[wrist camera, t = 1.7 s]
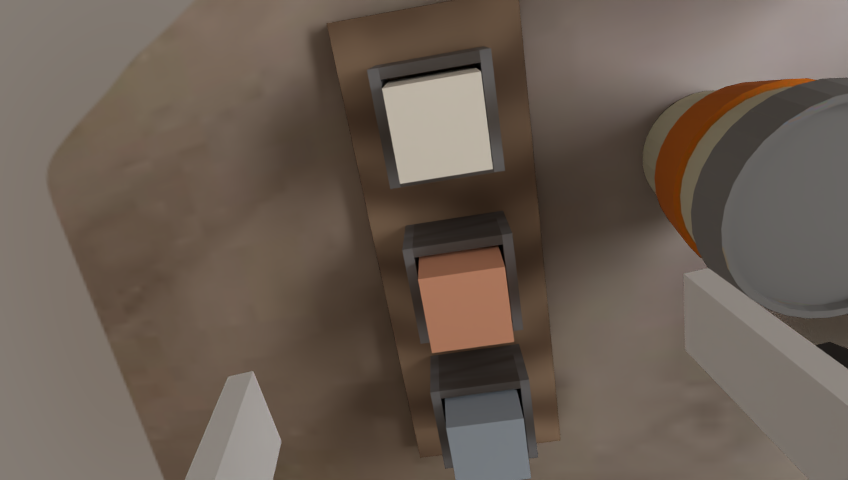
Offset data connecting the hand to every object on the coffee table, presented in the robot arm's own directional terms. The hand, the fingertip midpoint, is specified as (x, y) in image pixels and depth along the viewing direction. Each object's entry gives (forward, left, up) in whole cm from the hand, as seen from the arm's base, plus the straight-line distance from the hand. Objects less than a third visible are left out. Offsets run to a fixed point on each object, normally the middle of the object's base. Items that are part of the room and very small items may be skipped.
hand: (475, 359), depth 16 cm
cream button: (+2, -3, -22) cm, 23 cm away
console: (-4, +7, -27) cm, 28 cm away
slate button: (-10, +17, -22) cm, 30 cm away
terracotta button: (-4, +7, -22) cm, 24 cm away
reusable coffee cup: (-18, -7, -27) cm, 33 cm away
